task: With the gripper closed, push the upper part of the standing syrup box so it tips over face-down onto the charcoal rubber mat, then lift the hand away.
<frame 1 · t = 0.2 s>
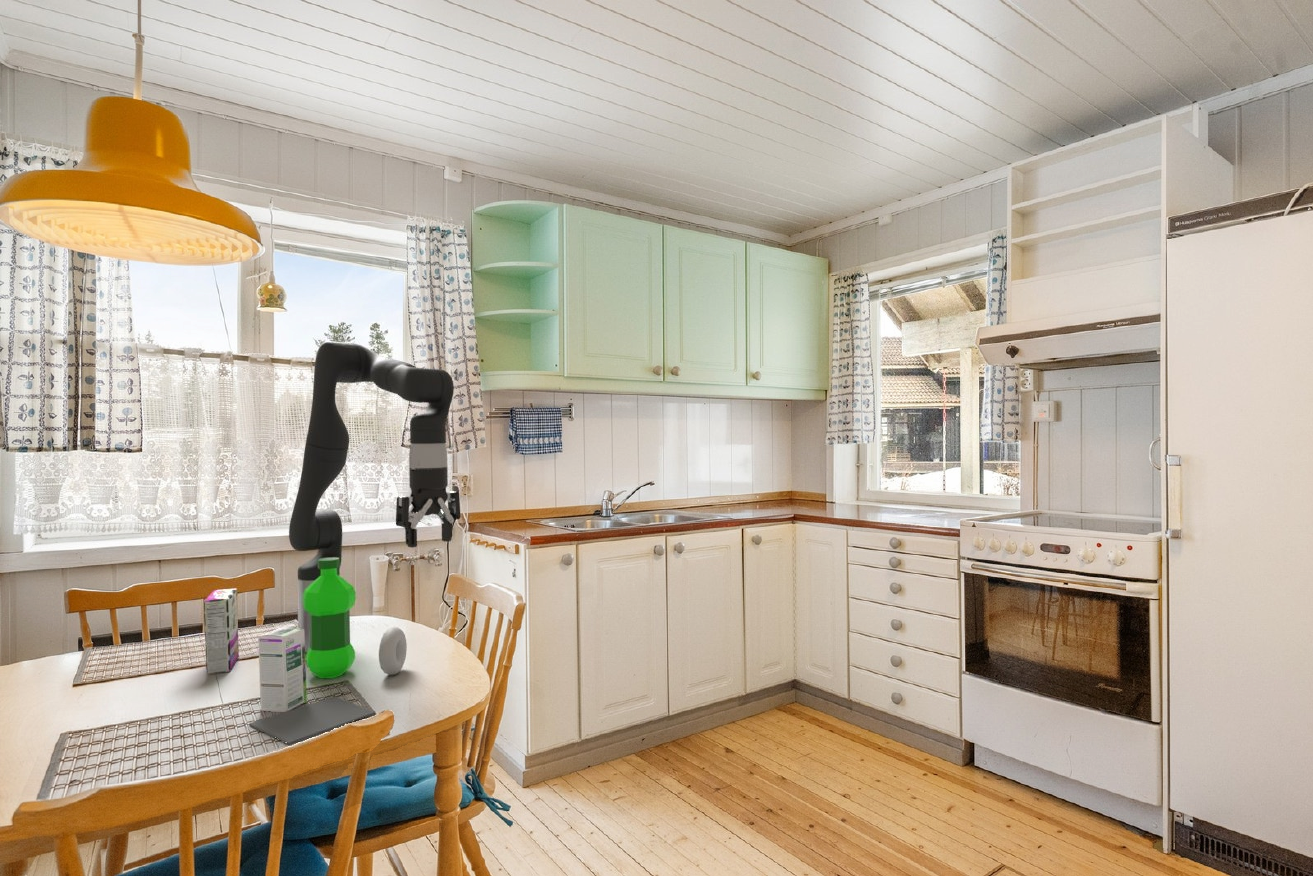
hand: (429, 544, 149), 29 cm above the table, tool pointing down, fingers open, 8 cm apart
mat: (313, 719, 131), on the table
syrup box: (283, 707, 138), on the table
plastic bottle: (330, 675, 156), on the table
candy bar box: (222, 667, 162), on the table
donut: (393, 674, 156), on the table
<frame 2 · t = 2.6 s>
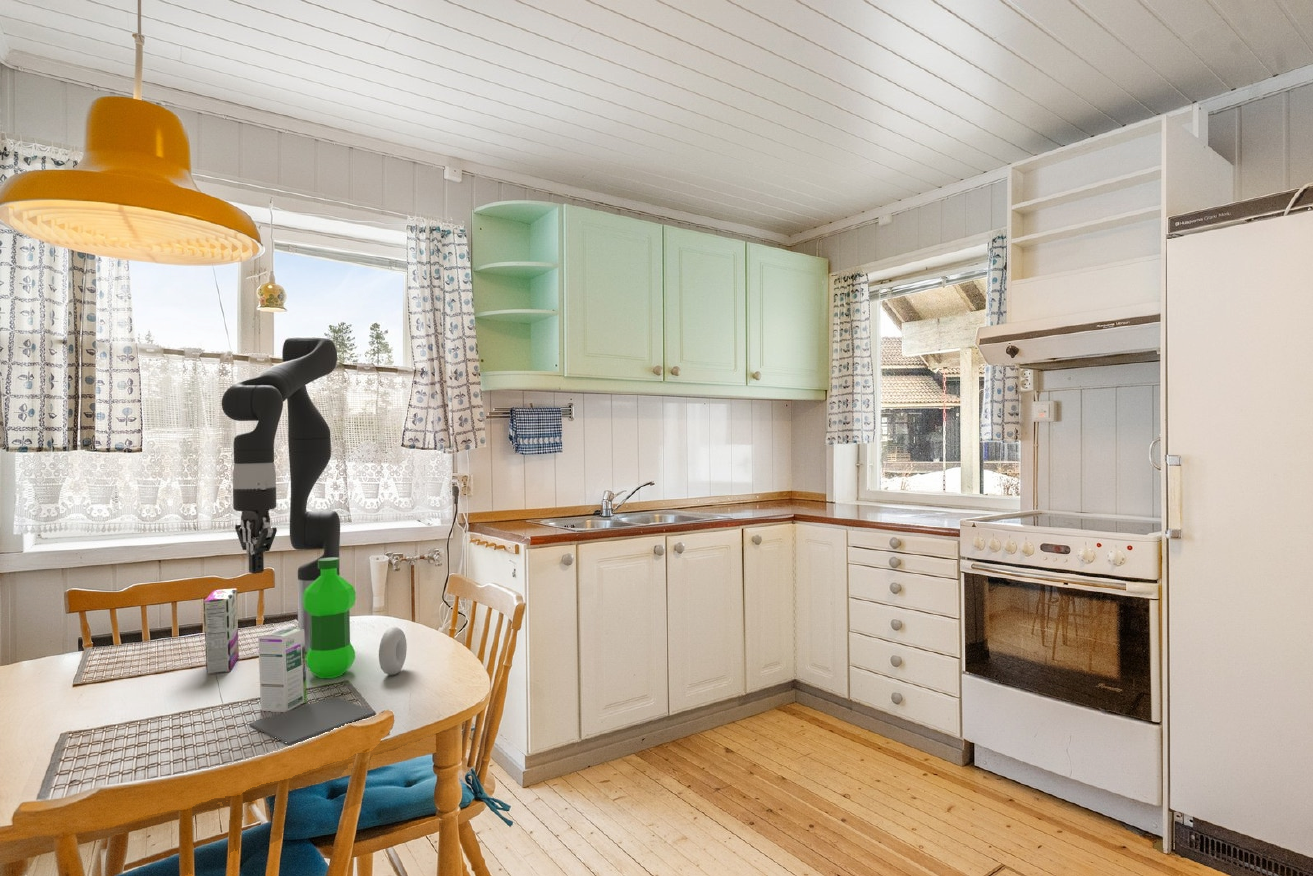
hand: (256, 572, 143), 25 cm above the table, tool pointing down, fingers closed
nothing on the table moved.
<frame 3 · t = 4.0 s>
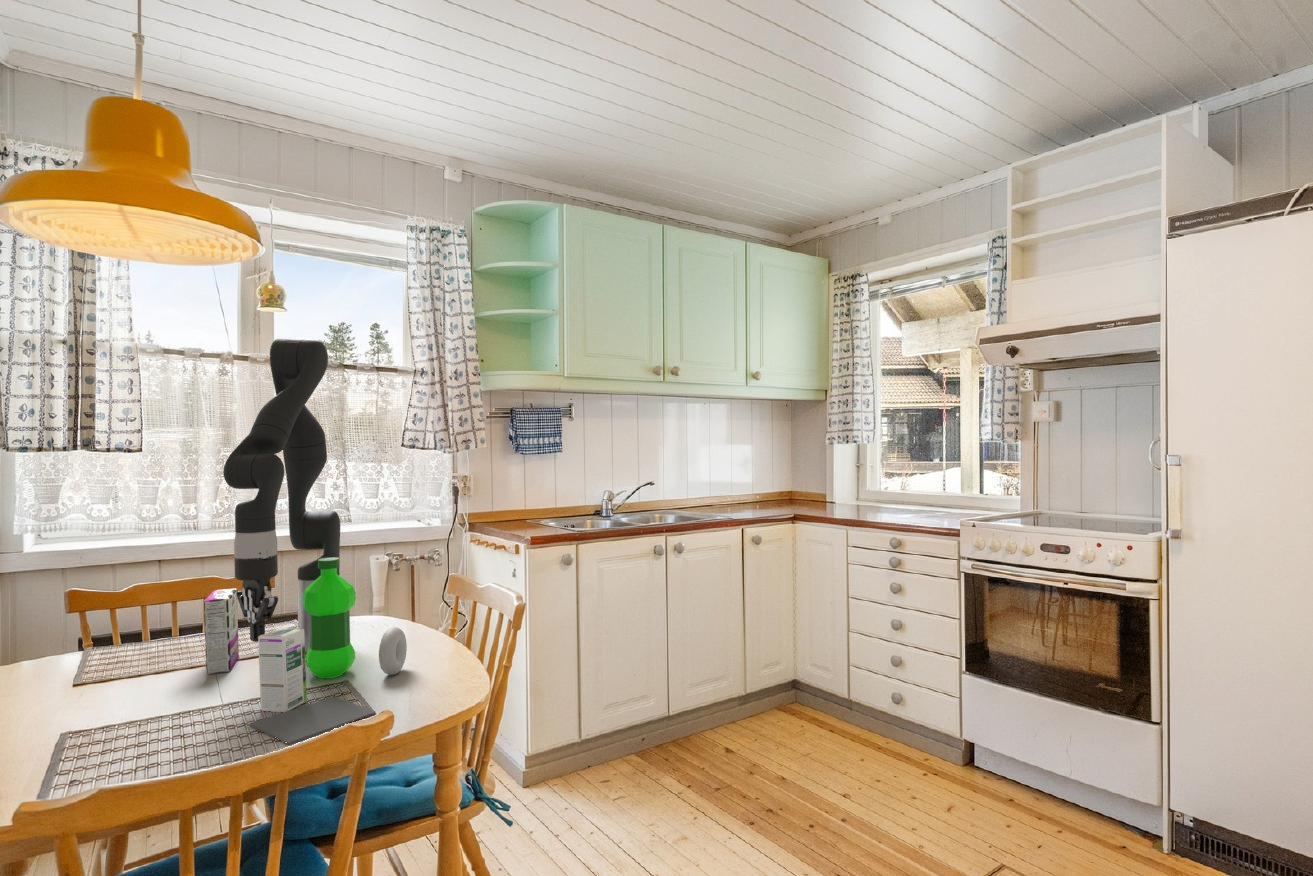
hand: (257, 640, 144), 11 cm above the table, tool pointing down, fingers closed
nothing on the table moved.
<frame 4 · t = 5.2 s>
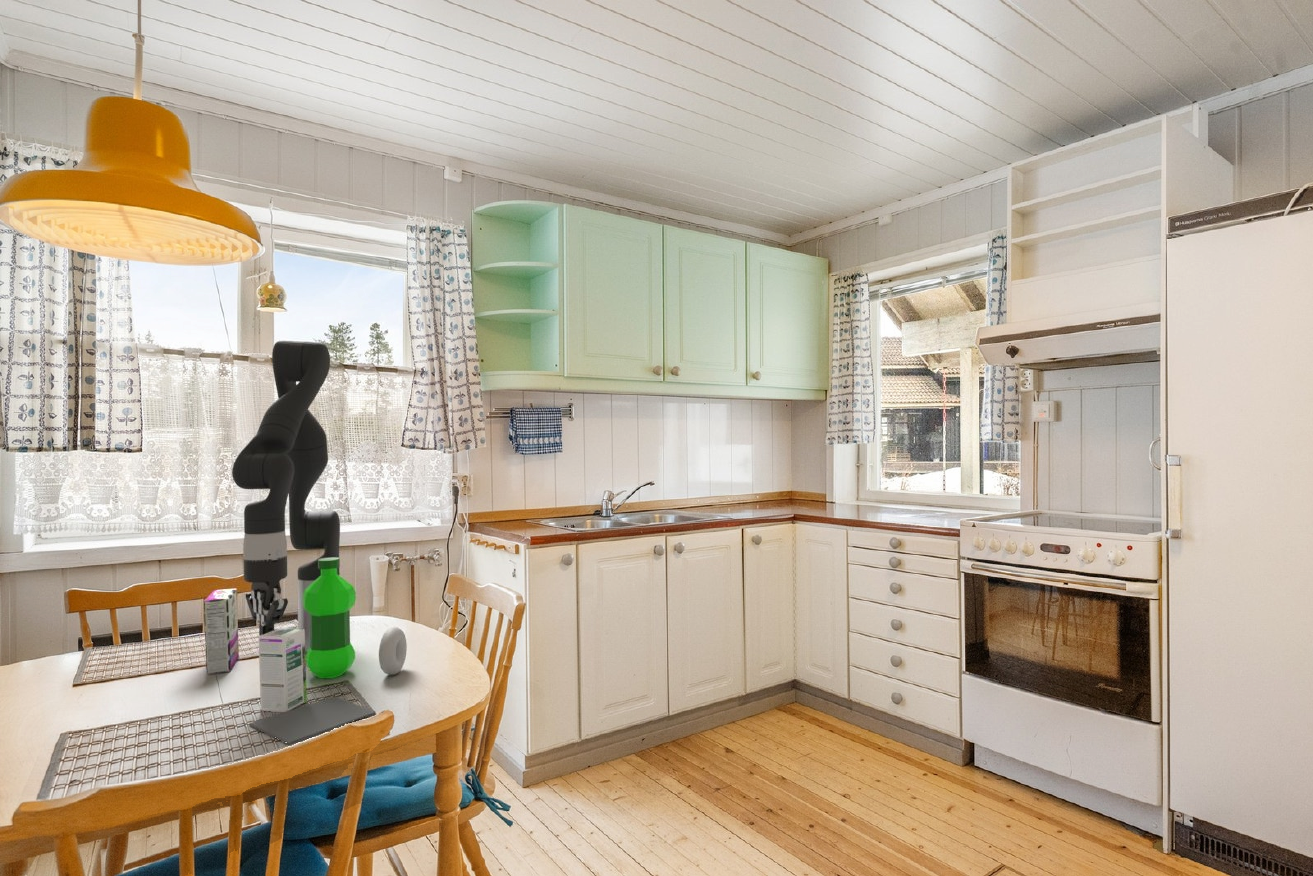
hand: (267, 643, 141), 11 cm above the table, tool pointing down, fingers closed
syrup box: (283, 707, 138), on the table, touching gripper
everything else where it was.
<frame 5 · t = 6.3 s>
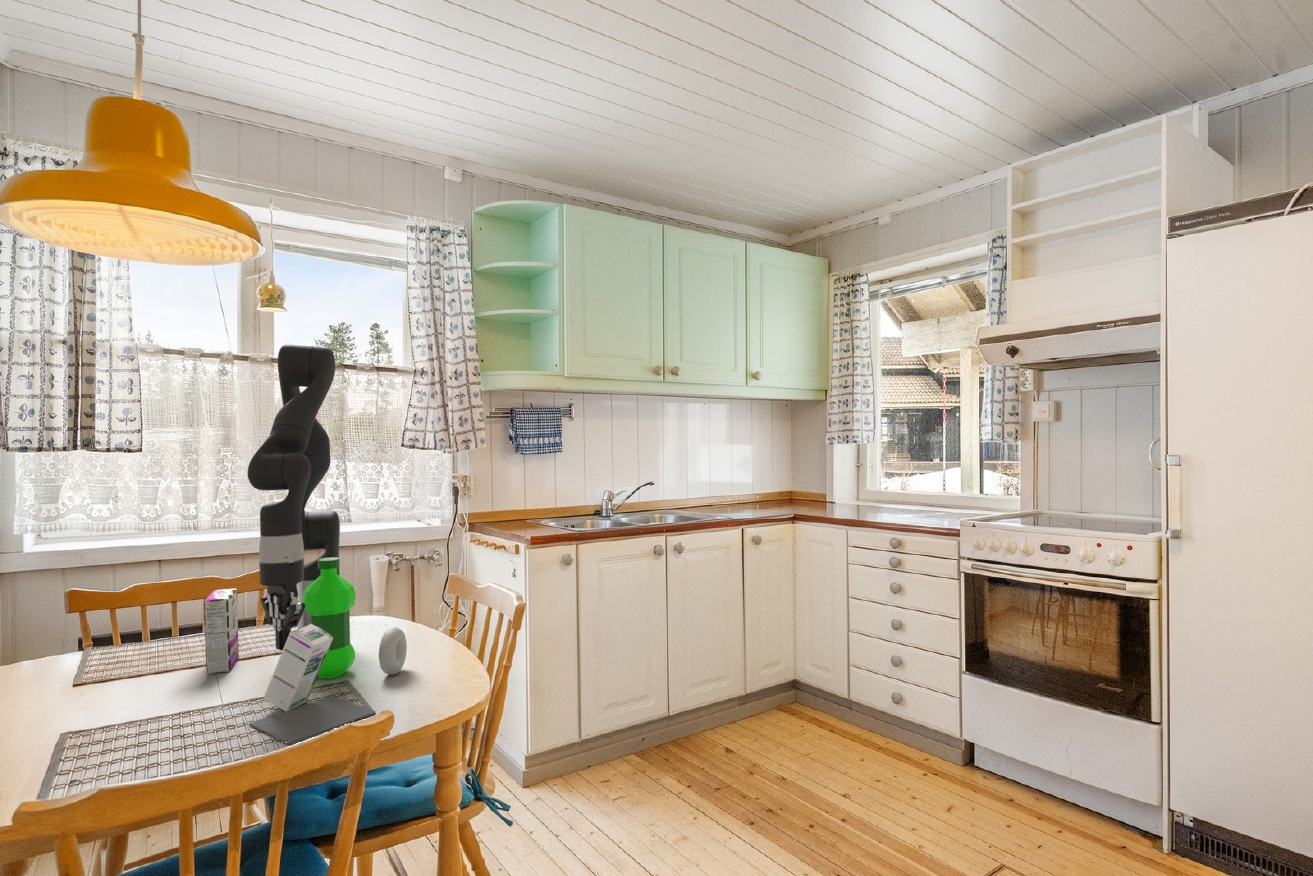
hand: (283, 648, 137), 11 cm above the table, tool pointing down, fingers closed
syrup box: (284, 700, 138), point 1 cm above the table
everything else where it was.
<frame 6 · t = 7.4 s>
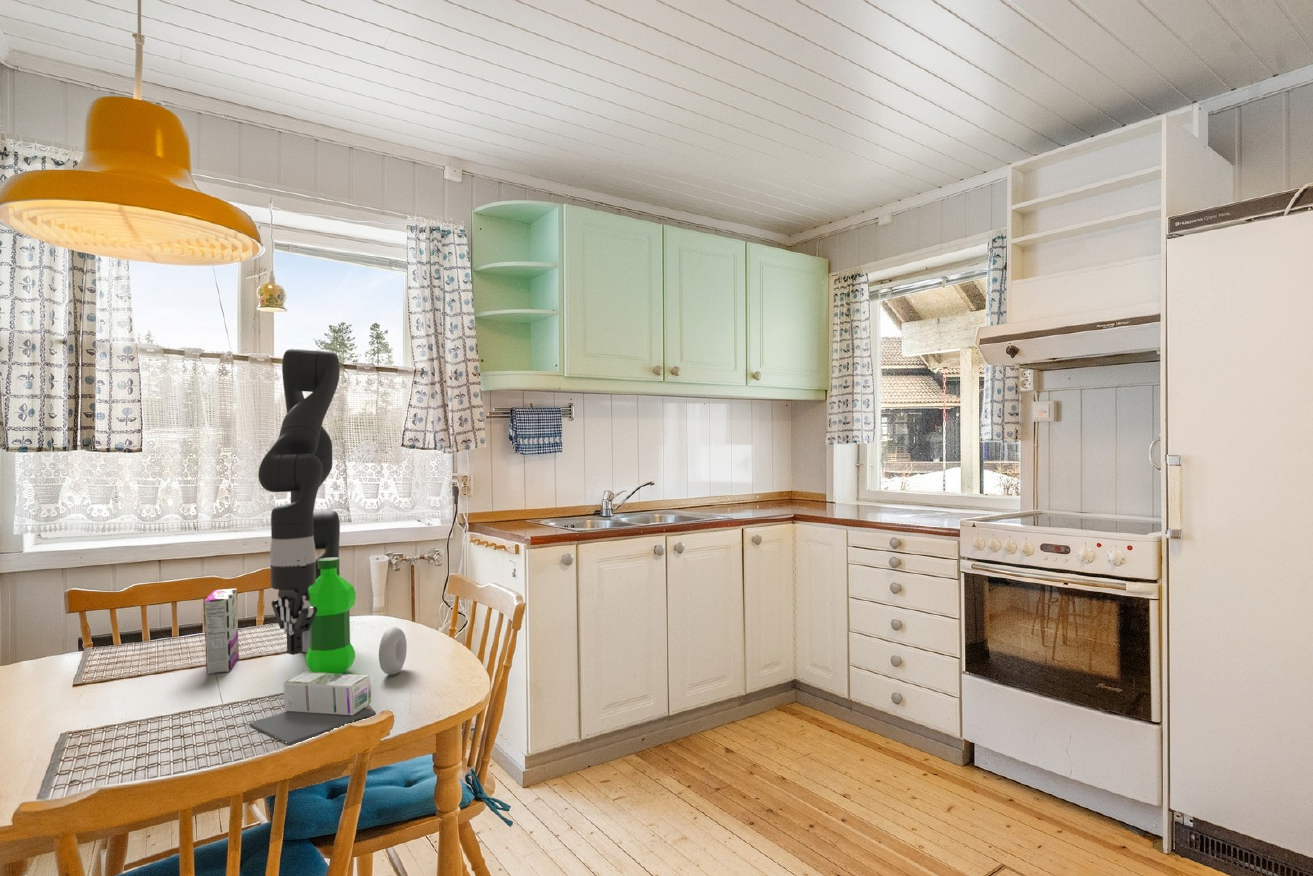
hand: (294, 653, 135), 11 cm above the table, tool pointing down, fingers closed
syrup box: (292, 690, 137), point 3 cm above the table, touching mat
everything else where it was.
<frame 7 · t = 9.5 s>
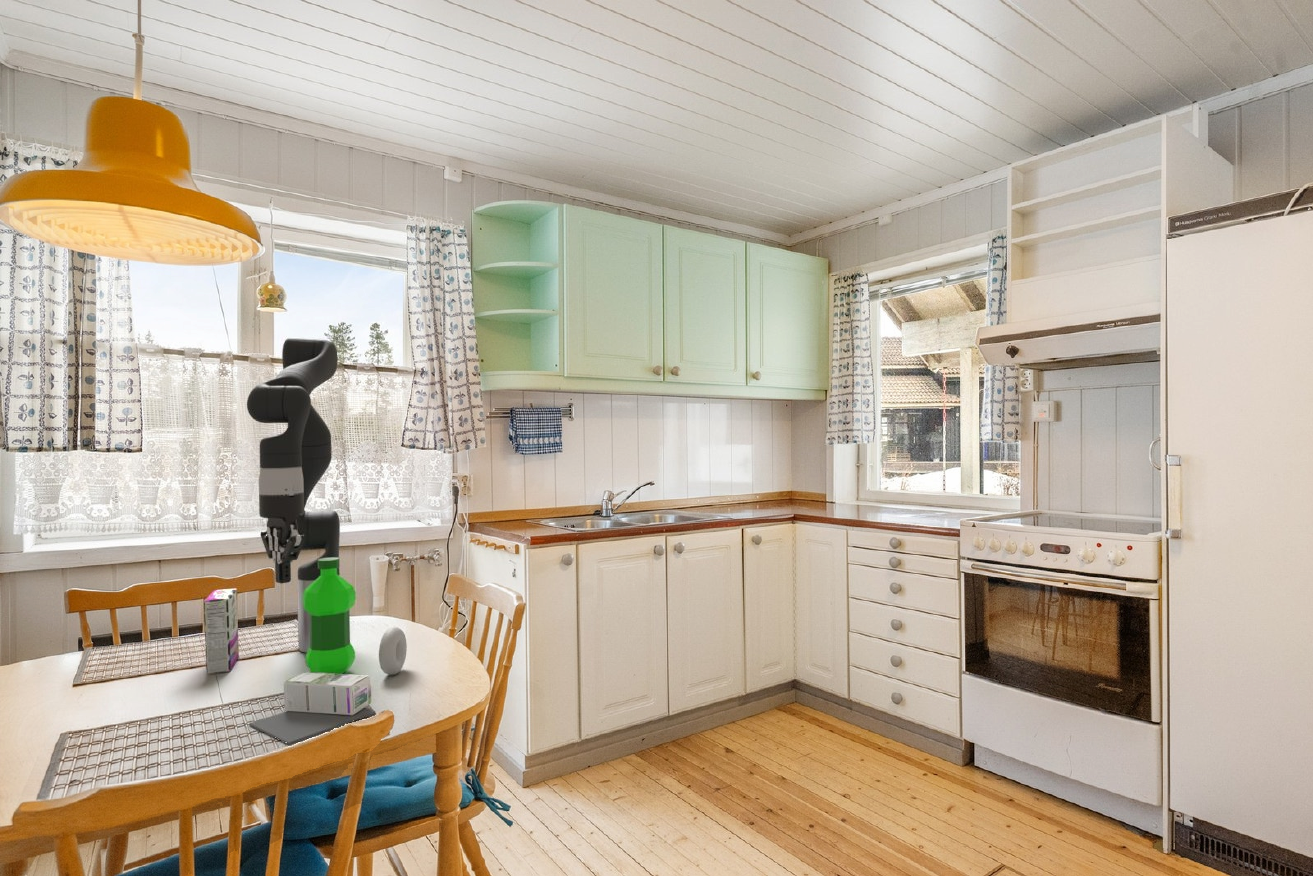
hand: (283, 582, 137), 24 cm above the table, tool pointing down, fingers closed
nothing on the table moved.
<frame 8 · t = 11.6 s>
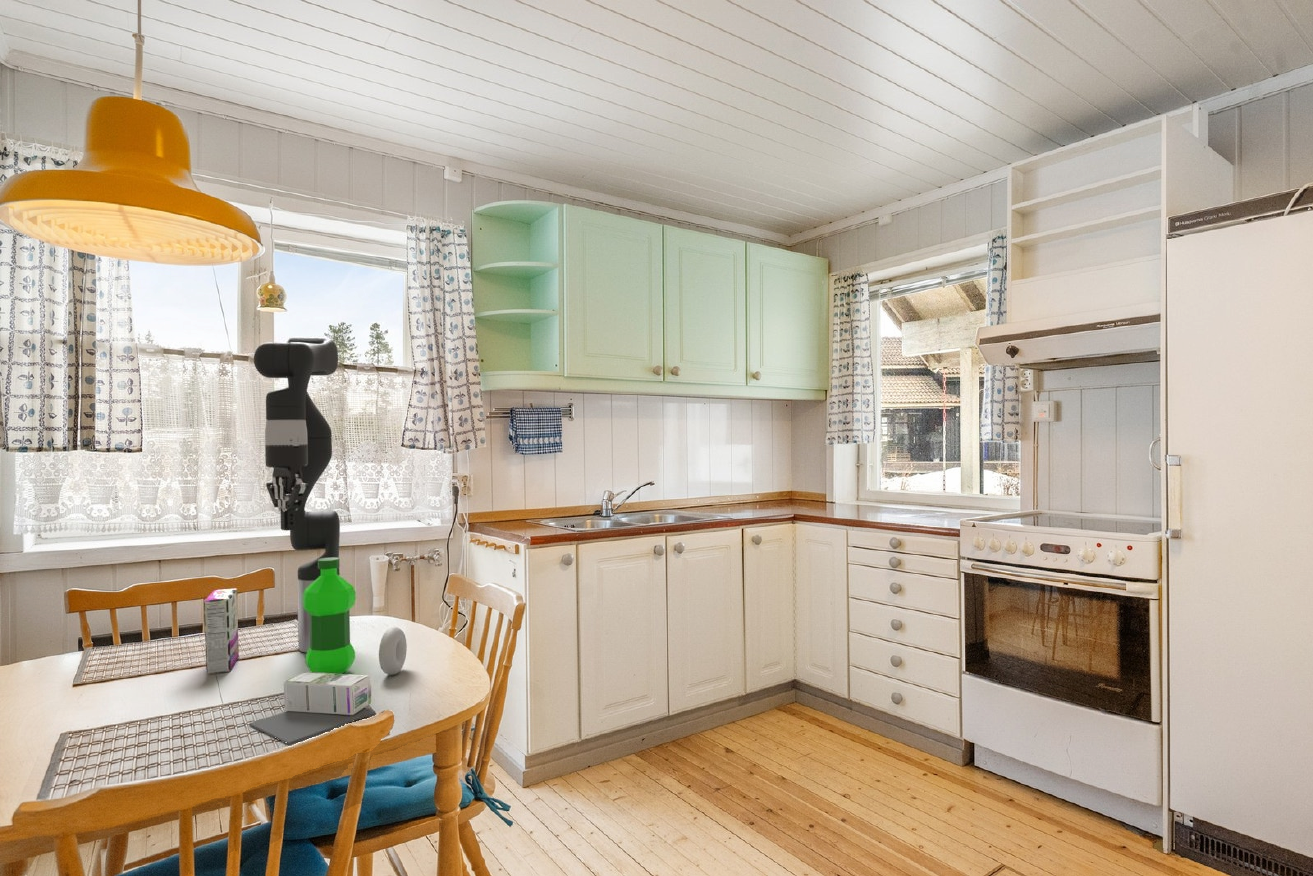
hand: (288, 529, 144), 33 cm above the table, tool pointing down, fingers closed
nothing on the table moved.
at the end: syrup box tilted 90°; syrup box touching mat; syrup box inside the target area (8.1 cm from its centre), point 3.4 cm above the table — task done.
